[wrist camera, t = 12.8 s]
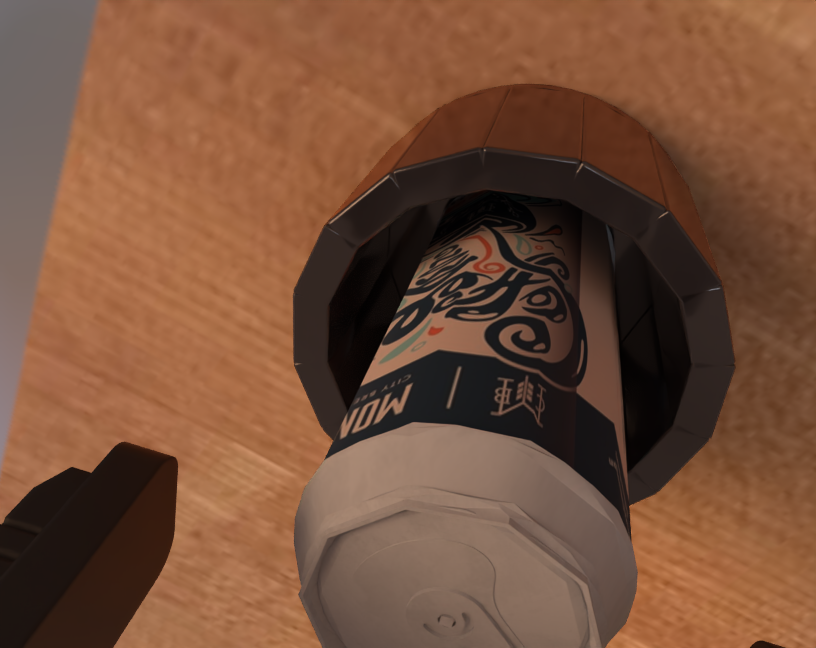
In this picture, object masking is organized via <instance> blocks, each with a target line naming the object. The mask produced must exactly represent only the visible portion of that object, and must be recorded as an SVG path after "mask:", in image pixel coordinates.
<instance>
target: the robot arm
mask: <svg viewBox="0 0 816 648" xmlns="http://www.w3.org/2000/svg"><path fill="white" fill-rule="evenodd" d="M177 475H178V463H177V459H176V458H175V457H173V456H170V455H167V454H163V453H160V452H157V451H154V450H150V449H147V448H144V447H141V446H137V445H134V444H131V443H128V442H121V443H119V444H118V445H116V446H115V447H114V448H113V449H112V450H111V451H110V452H109V454H108V455H107V456H106V457H105V458H104V459H103V460H102V462H101V463H100V464H99V465H98V466H97V467H96V468H95V470H94V471H93V472H92V473H90V472H87V471H83V470H80V469H77V468H74V467H71V468H69V469H67V470H65V471H63V472H62V473H60V474H58V475H56V476H54V477H52V478H51V479H49V480H47V481H45V482H43V483H42V484H40V485H38V486H36V487H34V488H33V489H32V490H31V491H30V492H29V493H28V494H27V495H26V496H25V497H24V498H23V499H22V500H21V501H20V503H19V504H18V505H17V506H16V507H15V508H14V509H13V510H12V511H11V512H10V513H9V514H8V515H7V516H6V517H5V520H4V522H3V524H2V525H1V524H0V648H113V647H114V645H115V644H116V642H117V641H118V639H119V637H120V636H121V634H122V633H123V631H124V630H125V628H126V626H127V625H128V623H129V622H130V620H131V619H132V617H133V616H134V614H135V612H136V611H137V609H138V608H139V606H140V605H141V603H142V601H143V600H144V598H145V597H146V595H147V594H148V592H149V591H150V589H151V587H152V586H153V584H154V583H155V581H156V580H157V578H158V576H159V575H160V573H161V571H162V569H163V567H164V565H165V563H166V560H167V558H168V555H169V552H170V549H171V546H172V542H173V538H174V531H175V513H176V494H177ZM750 648H785V647H782V646H778V645H775V644H772V643H769V642H765V641H757V642H755V643H754V644H753V645H752V646H751V647H750Z"/></svg>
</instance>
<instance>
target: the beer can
mask: <svg viewBox="0 0 816 648" xmlns="http://www.w3.org/2000/svg"><path fill="white" fill-rule="evenodd" d="M294 546H295V552H296V559H297V565H298V571H299V577H300V581H301V590H300V592H299V594H298V595H299V597H300V599H301V602H302V604H303V606H304V608H305V610H306V613H307V615H308V617H309V619H310V621H311V623H312V626H313V628H314V630H315V632H316V634H317V637H318V639H319V641H320V643H321V645H322V648H605V647H606V645H607V644H608V642H609V641H610V640H611V639H612V638H613V637H614V636H615V635H616V634H617V632H618V631H619V630H620V629H621V628H622V627H623V626H624V625H625V623H626V621H627V618H628V616H629V613H630V610H631V607H632V604H633V601H634V597H635V594H636V587H637V574H638V572H637V566H636V561H635V556H634V551H633V546H632V542H631V526H630V510H629V494H628V478H627V462H626V446H625V430H624V414H623V398H622V382H621V366H620V350H619V334H618V318H617V302H616V286H615V249H614V244H613V239H612V235H611V232H610V230H609V228H608V226H607V224H605V223H603V222H602V221H600V220H598V219H596V218H595V217H593V216H591V215H589V214H588V213H586V212H584V211H582V210H580V209H579V208H577V207H575V206H573V205H572V204H570V203H568V202H566V201H564V200H557V199H549V198H542V197H535V196H528V195H521V194H513V193H506V192H499V191H492V190H483V191H479V192H475V193H471V194H467V195H463V196H459V197H456V198H455V199H454V200H453V201H452V202H451V203H450V204H449V205H448V206H447V208H446V209H445V210H444V212H443V214H442V215H441V217H440V218H439V220H438V222H437V225H436V228H435V230H434V233H433V236H432V239H431V242H430V244H429V246H428V248H427V251H426V253H425V255H424V257H423V259H422V261H421V263H420V265H419V267H418V269H417V271H416V273H415V275H414V277H413V279H412V281H411V283H410V285H409V287H408V289H407V291H406V294H405V296H404V298H403V300H402V302H401V304H400V306H399V308H398V310H397V312H396V314H395V316H394V318H393V320H392V322H391V324H390V326H389V328H388V330H387V332H386V335H385V337H384V339H383V341H382V343H381V345H380V347H379V349H378V351H377V353H376V355H375V357H374V359H373V361H372V363H371V365H370V367H369V369H368V371H367V373H366V375H365V378H364V380H363V382H362V384H361V386H360V388H359V390H358V392H357V394H356V396H355V398H354V400H353V402H352V404H351V406H350V408H349V410H348V412H347V414H346V416H345V418H344V421H343V423H342V425H341V427H340V429H339V431H338V433H337V435H336V437H335V439H334V441H333V443H332V445H331V447H330V449H329V451H328V453H327V455H326V457H325V459H324V461H323V463H322V464H321V465H320V467H319V468H318V470H317V471H316V472H315V474H314V475H313V477H312V478H311V479H310V481H309V482H308V484H307V485H306V486H305V488H304V491H303V494H302V497H301V501H300V504H299V507H298V510H297V513H296V516H295V529H294Z"/></svg>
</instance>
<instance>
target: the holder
mask: <svg viewBox="0 0 816 648" xmlns="http://www.w3.org/2000/svg"><path fill="white" fill-rule="evenodd" d="M483 190H492V191H499V192H506V193H513V194H521V195H528V196H535V197H542V198H549V199H557V200H564V201H566V202H568V203H570V204H572V205H573V206H575V207H577V208H579V209H580V210H582V211H584V212H586V213H588V214H589V215H591V216H593V217H595V218H596V219H598V220H600V221H602V222H603V223H605V224H607V226H608V228H609V230H610V232H611V235H612V239H613V244H614V249H615V286H616V302H617V318H618V334H619V350H620V366H621V382H622V398H623V414H624V430H625V446H626V462H627V478H628V494H629V506H630V505H632V504H634V503H637V502H639V501H641V500H643V499H646V498H648V497H650V496H652V495H655V494H656V493H657V492H659V491H660V490H661V489H662V488H663V487H664V486H665V485H666V484H667V483H668V482H669V481H670V480H671V479H672V478H673V477H674V476H675V475H676V474H677V473H678V472H679V471H680V469H681V468H682V467H683V466H684V465H685V464H686V463H687V462H688V461H689V460H690V459H691V458H692V457H693V456H694V455H695V454H696V453H697V452H698V451H699V450H700V449H701V448H702V447H703V446H704V445H705V444H706V443H707V442H708V441H709V439H710V438H711V437H712V435H713V432H714V429H715V426H716V423H717V420H718V417H719V414H720V411H721V409H722V406H723V403H724V400H725V397H726V394H727V391H728V388H729V385H730V382H731V379H732V376H733V374H734V371H735V368H736V367H735V355H734V349H733V342H732V336H731V330H730V323H729V317H728V311H727V304H726V298H725V292H724V286H723V283H722V280H721V277H720V275H719V272H718V269H717V266H716V263H715V260H714V258H713V255H712V252H711V249H710V246H709V243H708V240H707V238H706V235H705V232H704V229H703V226H702V223H701V220H700V218H699V215H698V212H697V209H696V206H695V203H694V200H693V198H692V195H691V192H690V189H689V186H688V185H687V184H686V182H685V181H684V179H683V178H682V176H681V175H680V173H679V172H678V170H677V168H676V167H675V165H674V163H673V162H672V160H671V158H670V157H669V155H668V154H667V152H666V151H665V150H664V149H663V148H662V146H661V145H660V144H659V143H658V141H657V140H656V139H655V138H654V137H653V136H652V134H651V133H650V132H648V131H647V130H646V129H645V128H644V127H642V126H641V125H640V124H639V123H638V122H637V121H636V120H634V119H633V118H631V117H630V116H628V115H627V114H625V113H624V112H622V111H621V110H619V109H618V108H617V107H615V106H612V105H610V104H608V103H606V102H604V101H602V100H600V99H598V98H596V97H594V96H591V95H588V94H585V93H582V92H578V91H575V90H572V89H567V88H562V87H556V86H551V85H537V84H518V85H506V86H498V87H494V88H489V89H485V90H480V91H477V92H474V93H471V94H469V95H466V96H463V97H460V98H458V99H455V100H454V101H452V102H450V103H448V104H444V105H443V106H442V107H440V108H437V109H436V110H435V111H434V112H432V113H431V114H430V115H428V116H427V117H425V118H424V119H423V120H421V121H420V122H419V123H418V124H416V125H415V126H414V127H413V128H412V129H411V130H410V131H409V132H408V133H407V134H406V135H405V136H404V137H402V138H401V139H400V140H399V141H398V142H396V143H395V144H394V145H393V146H392V147H391V148H390V149H389V150H388V151H387V152H386V154H385V155H384V156H383V157H382V158H381V159H380V161H379V162H378V163H377V164H376V165H375V166H374V168H373V169H372V170H371V171H370V172H369V174H368V175H367V176H366V177H365V178H364V179H363V181H362V182H361V183H360V184H359V185H358V186H357V188H356V189H355V190H354V191H353V192H352V193H351V195H350V196H349V197H348V198H347V199H346V200H345V202H344V203H343V204H342V205H341V206H340V208H339V209H338V210H337V211H336V212H335V213H334V215H333V216H332V217H331V218H330V219H329V220H328V222H327V223H326V224H325V225H324V227H323V229H322V231H321V233H320V235H319V237H318V239H317V242H316V244H315V246H314V248H313V250H312V252H311V254H310V256H309V259H308V261H307V263H306V265H305V267H304V269H303V271H302V273H301V276H300V278H299V280H298V282H297V284H296V286H295V288H294V293H293V356H294V366H295V369H296V371H297V373H298V375H299V378H300V380H301V382H302V384H303V387H304V389H305V391H306V394H307V396H308V398H309V400H310V403H311V405H312V407H313V409H314V412H315V414H316V416H317V419H318V421H319V423H320V425H321V427H322V428H323V430H324V431H325V432H326V433H327V434H328V435H329V436H330V438H331V439H332V440H333V441H334V439H335V437H336V435H337V433H338V431H339V429H340V427H341V425H342V423H343V421H344V418H345V416H346V414H347V412H348V410H349V408H350V406H351V404H352V402H353V400H354V398H355V396H356V394H357V392H358V390H359V388H360V386H361V384H362V382H363V380H364V378H365V375H366V373H367V371H368V369H369V367H370V365H371V363H372V361H373V359H374V357H375V355H376V353H377V351H378V349H379V347H380V345H381V343H382V341H383V339H384V337H385V335H386V332H387V330H388V328H389V326H390V324H391V322H392V320H393V318H394V316H395V314H396V312H397V310H398V308H399V306H400V304H401V302H402V300H403V298H404V296H405V294H406V291H407V289H408V287H409V285H410V283H411V281H412V279H413V277H414V275H415V273H416V271H417V269H418V267H419V265H420V263H421V261H422V259H423V257H424V255H425V253H426V251H427V248H428V246H429V244H430V242H431V239H432V236H433V233H434V230H435V228H436V225H437V222H438V220H439V218H440V217H441V215H442V214H443V212H444V210H445V209H446V208H447V206H448V205H449V204H450V203H451V202H452V201H453V200H454V199H455V198H456V197H459V196H463V195H467V194H471V193H475V192H479V191H483Z"/></svg>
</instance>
